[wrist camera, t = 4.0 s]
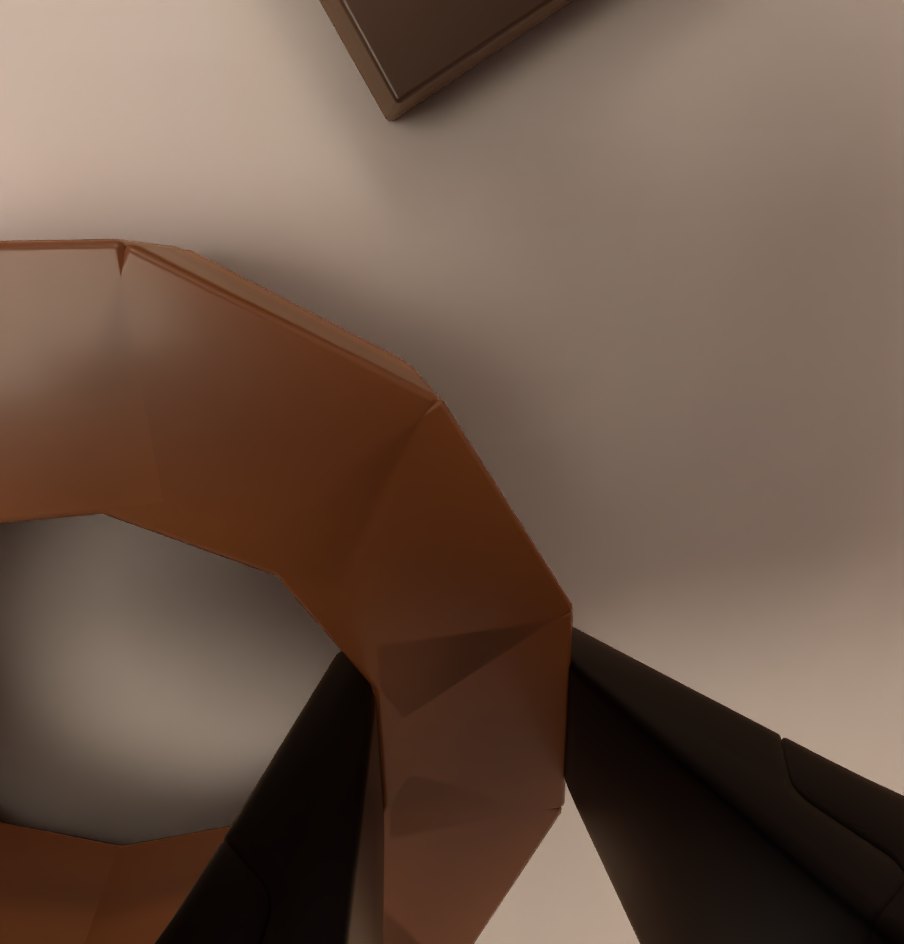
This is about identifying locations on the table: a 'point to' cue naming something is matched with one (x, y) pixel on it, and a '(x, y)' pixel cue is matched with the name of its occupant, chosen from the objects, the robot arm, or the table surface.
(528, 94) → the table surface
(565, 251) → the table surface
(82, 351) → the ring
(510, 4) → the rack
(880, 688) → the table surface
